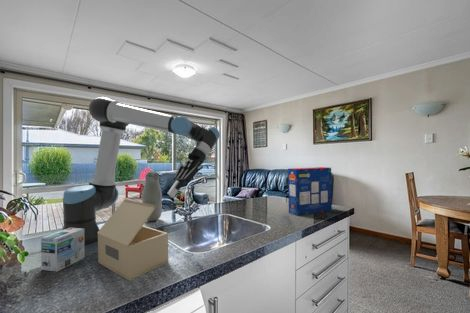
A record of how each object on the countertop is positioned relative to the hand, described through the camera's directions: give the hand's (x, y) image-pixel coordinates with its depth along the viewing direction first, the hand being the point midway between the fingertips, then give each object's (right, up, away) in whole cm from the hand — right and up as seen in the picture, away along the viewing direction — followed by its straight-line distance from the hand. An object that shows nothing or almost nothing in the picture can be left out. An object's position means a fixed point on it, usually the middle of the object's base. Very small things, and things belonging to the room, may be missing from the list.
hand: (170, 195), depth 90 cm
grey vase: (-21, -21, +38) cm, 49 cm away
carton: (-9, -21, -12) cm, 26 cm away
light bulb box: (-33, -22, -12) cm, 41 cm away
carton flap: (-11, -6, -14) cm, 18 cm away
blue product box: (+74, -20, +54) cm, 94 cm away
